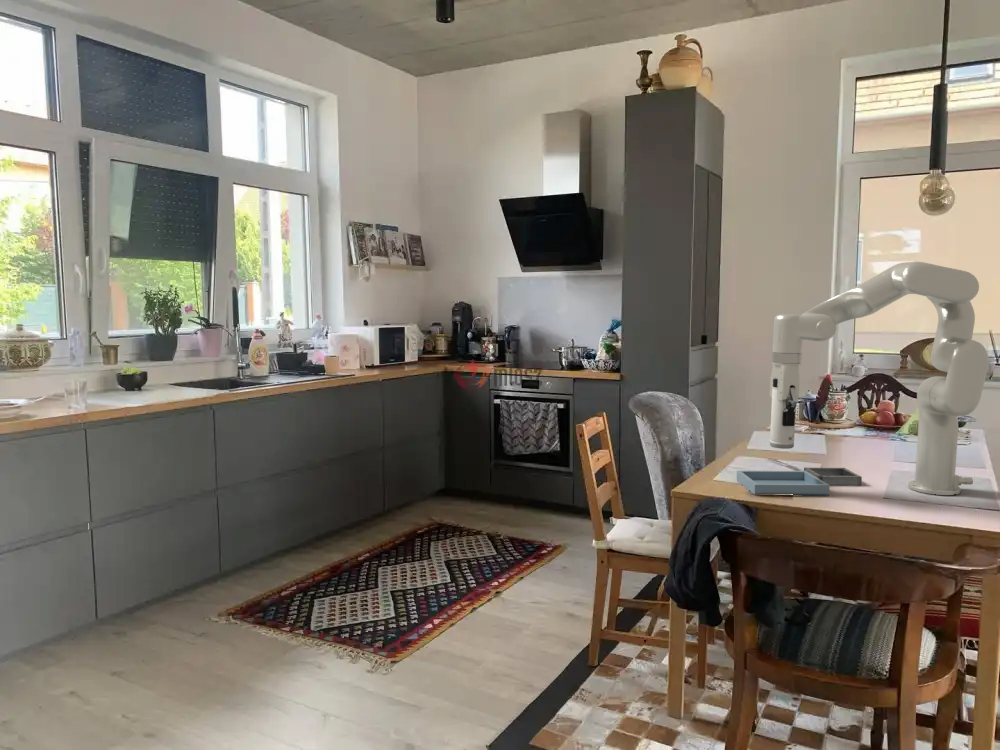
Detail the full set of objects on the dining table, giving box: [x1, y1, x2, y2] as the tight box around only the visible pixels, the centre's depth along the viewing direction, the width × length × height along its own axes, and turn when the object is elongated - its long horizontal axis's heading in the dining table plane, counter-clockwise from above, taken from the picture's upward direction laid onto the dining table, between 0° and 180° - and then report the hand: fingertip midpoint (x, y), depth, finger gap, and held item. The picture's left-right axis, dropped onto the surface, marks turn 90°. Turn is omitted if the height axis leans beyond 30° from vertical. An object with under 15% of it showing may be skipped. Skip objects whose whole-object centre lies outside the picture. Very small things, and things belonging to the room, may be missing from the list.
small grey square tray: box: [803, 467, 863, 486], centre depth 217 cm, size 12×11×2 cm
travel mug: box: [769, 379, 797, 450], centre depth 206 cm, size 6×7×20 cm
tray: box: [736, 470, 831, 497], centre depth 208 cm, size 20×16×3 cm
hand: (783, 423), depth 206 cm, fingers closed on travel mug, 6 cm apart
